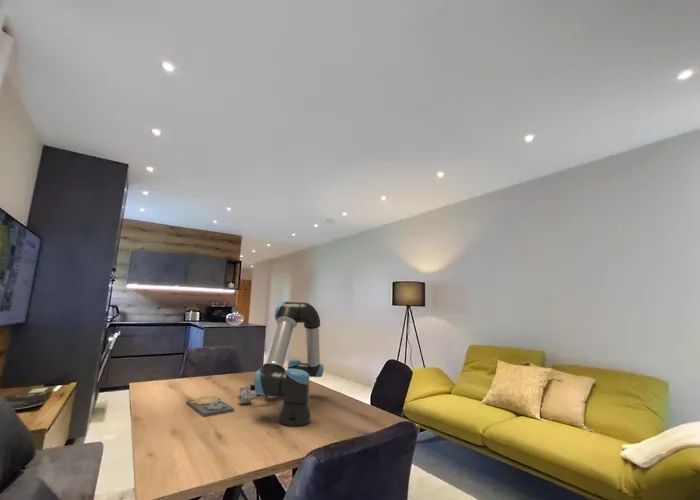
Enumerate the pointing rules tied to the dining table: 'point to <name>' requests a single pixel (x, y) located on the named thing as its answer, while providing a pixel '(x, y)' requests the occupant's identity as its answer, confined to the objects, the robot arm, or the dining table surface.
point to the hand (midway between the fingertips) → (245, 392)
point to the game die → (245, 396)
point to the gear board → (209, 406)
